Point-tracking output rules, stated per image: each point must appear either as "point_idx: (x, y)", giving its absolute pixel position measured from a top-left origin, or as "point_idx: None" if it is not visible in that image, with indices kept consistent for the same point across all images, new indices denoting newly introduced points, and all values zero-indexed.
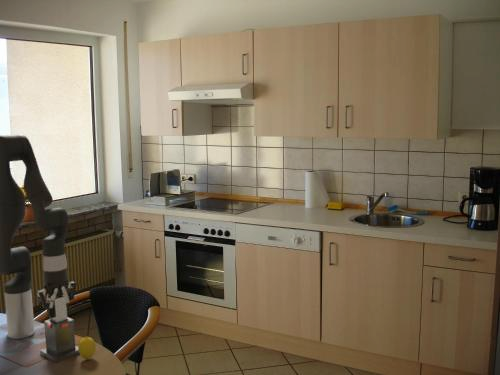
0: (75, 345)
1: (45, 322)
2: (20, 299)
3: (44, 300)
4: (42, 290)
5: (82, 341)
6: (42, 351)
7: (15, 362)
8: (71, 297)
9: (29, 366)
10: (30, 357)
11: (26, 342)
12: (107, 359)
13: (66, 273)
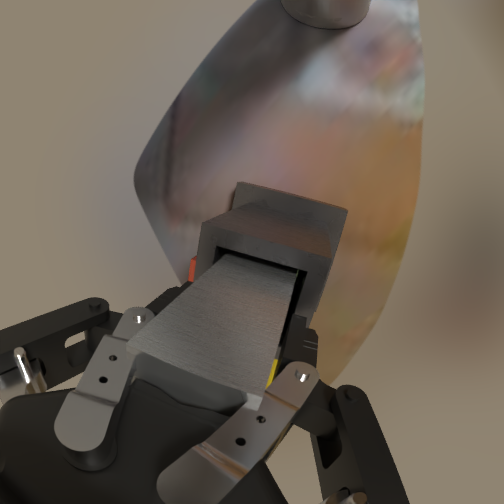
0: (327, 275)
1: (202, 236)
2: None
3: (64, 372)
4: (4, 402)
5: None
6: (234, 198)
7: (168, 158)
8: (315, 441)
9: (171, 221)
10: (211, 169)
11: (288, 55)
12: None
13: None
